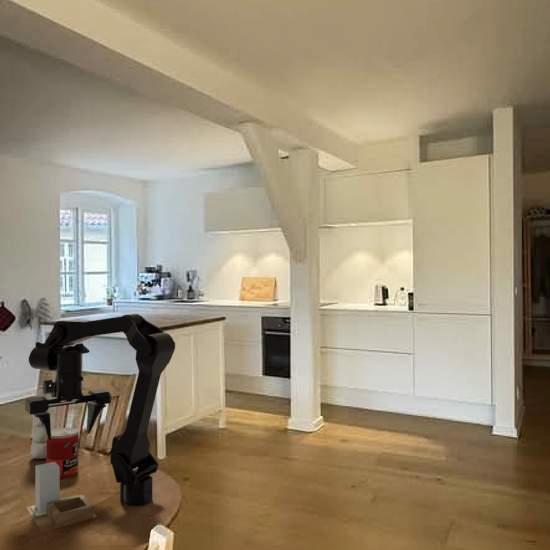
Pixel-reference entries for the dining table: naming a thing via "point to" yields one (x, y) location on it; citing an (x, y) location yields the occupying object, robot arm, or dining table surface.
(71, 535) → the dining table surface
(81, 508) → the brown slotted holder
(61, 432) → the canned food
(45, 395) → the plastic bottle
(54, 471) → the block
